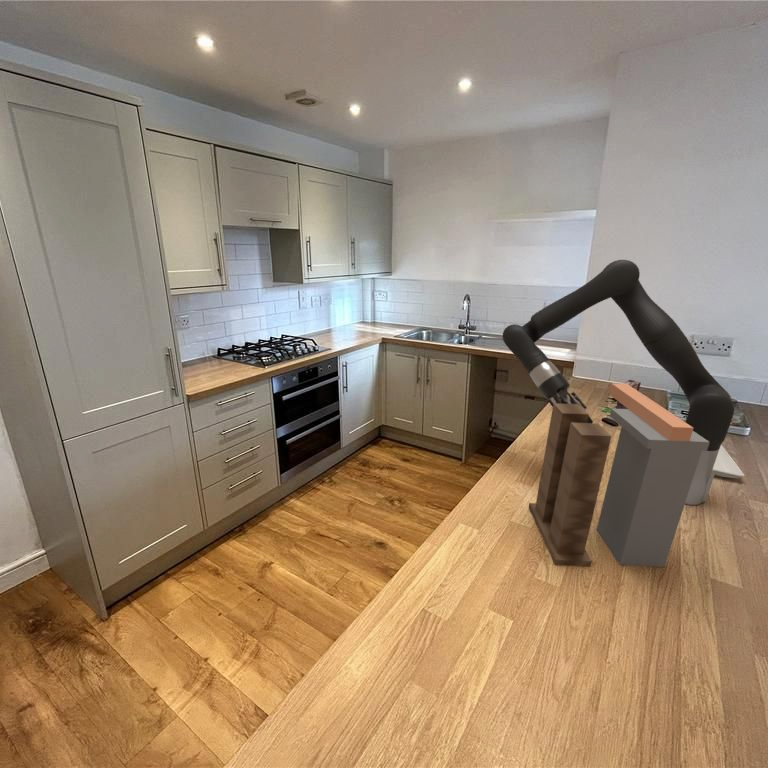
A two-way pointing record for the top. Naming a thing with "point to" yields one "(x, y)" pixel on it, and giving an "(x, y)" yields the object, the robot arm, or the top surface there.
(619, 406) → the supplement box
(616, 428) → the top surface
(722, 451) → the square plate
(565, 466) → the gate
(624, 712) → the top surface
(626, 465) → the pedestal
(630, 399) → the beam
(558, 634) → the top surface
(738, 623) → the top surface
